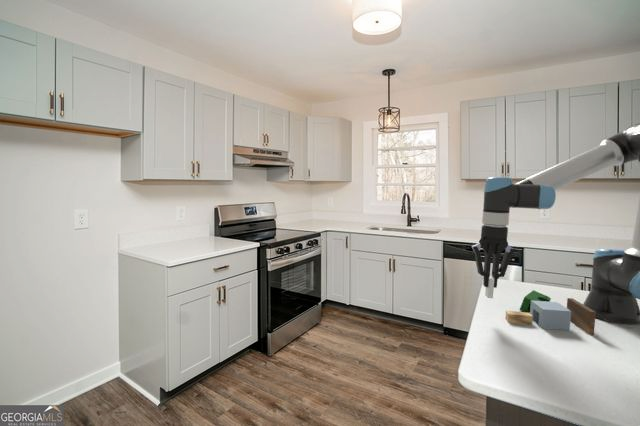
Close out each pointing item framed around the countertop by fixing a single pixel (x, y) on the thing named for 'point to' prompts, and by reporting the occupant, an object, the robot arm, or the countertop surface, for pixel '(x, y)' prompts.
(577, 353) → the countertop surface
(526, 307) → the clamp
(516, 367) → the countertop surface
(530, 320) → the tan rectangular bar
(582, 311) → the wall
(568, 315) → the block
